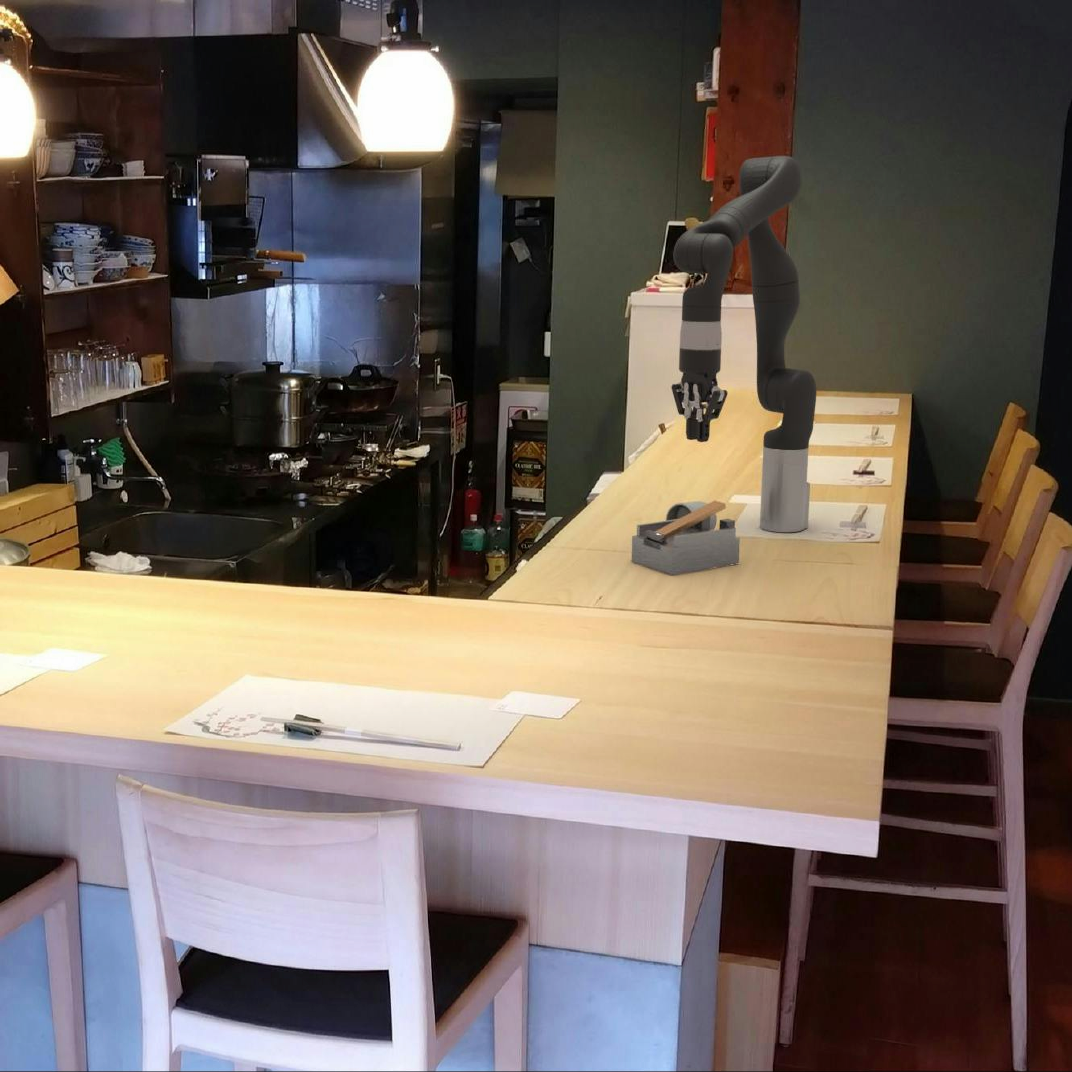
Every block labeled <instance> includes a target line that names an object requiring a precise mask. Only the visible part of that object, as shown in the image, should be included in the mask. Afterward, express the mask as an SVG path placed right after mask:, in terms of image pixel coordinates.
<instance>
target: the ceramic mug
mask: <svg viewBox="0 0 1072 1072" xmlns="http://www.w3.org/2000/svg"><path fill="white" fill-rule="evenodd" d="M707 504H709V503H707V502H704V501H699V500H698V501H688V502H677V503H675V504H673V505H672V506H671V507H669V509H668V511H667V513H666V516H665V521H667V520H674V519H680V518H682V517H684V516H686V515H688V514H690V513H692V512H693V511H695V510H697V509H699V508H701V507H703V506H705V505H707ZM717 520H718V519H717V513H716V514H714V515H712V516H710V529H711V530H715V528H716V526H717Z"/></svg>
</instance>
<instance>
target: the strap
mask: <svg viewBox="0 0 1072 1072" xmlns="http://www.w3.org/2000/svg"><path fill="white" fill-rule="evenodd" d="M726 509H727V506H726V503H725V502H721V501H717V500H712V501H711V502H709V503H708V504H707V505H705V506H703V507H701V508H699V509H697V510H695V511H693V512H692V513H690V514H688V515H686V516H684V517H682V518H680V519H678V520H676V521H674V522H672V523H670V524H668V525H667V526H665V527H663V528H661V529H659V530H657V531H655V532H654V531H651V530H647V531H646V532H645V537H646V538H647V539H650V540H654V541H657V542H660V543H664V542H665V541H666V539H668V538H670V537H672V536H674V535H676V534H678V533H680V532H682V531H683V530H685V529H687V528H689V527H691V526H693V525H695V524H697V523H699V522H701V521H702V520H704V519H706V518H708V517H710V516H712V515H714V514H716V515H717V514H718V513H719V512H721V511H723V510H726Z"/></svg>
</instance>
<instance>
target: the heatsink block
mask: <svg viewBox="0 0 1072 1072" xmlns="http://www.w3.org/2000/svg"><path fill="white" fill-rule="evenodd" d="M676 520H678V519H674V520H667V521H666V520H660V521H655V522H654V521H653V522H647V523H640V524H636V534H635V535H631V563H634V564H637V565H639V566H642V567H646V568H648V569H652V570H655V571H657V572H660V573H664V574H667V575H669V576H679V575H682V574H688V573H695V572H701V571H707V570H711V569H710V568H713V567H718V568H723V567H722V566H724V567H728V566H727V565H730V566H732V565H731V564H736V563H740V542H741V539H740V537H738V536H736V531H737V530H736V529H737V528H736V520H734V519H730V518H725V519H719V528H718V529H714V530H711V529H710V517H708V518H706V519H704V520H702V521H701V522H699V523H697V524H695V525H693V526H691V527H689V528H687V529H685V530H683V531H682V532H680V533H678V534H676V535H674V536H672V537H670V538H668V539H666V541H665V542H664V543H660V542H657V541H654V540H650V539H647V538H646V537H645V532H646V531H647V530H651V531H654V532H655V531H657V530H659V529H661V528H663V527H665V526H667V525H668V524H670V523H672V522H674V521H676ZM736 565H737V564H736ZM706 569H707V570H706ZM713 569H714V568H713Z"/></svg>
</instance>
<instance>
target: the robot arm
mask: <svg viewBox="0 0 1072 1072" xmlns="http://www.w3.org/2000/svg"><path fill="white" fill-rule="evenodd" d="M802 177H803V176H802V170H801V167H800V164H799V162H798V161H797V160H796V159H795V158H794V157H792V156H788V155H775V156H774V155H773V156H765V157H754V158H747V159H746V160H744V161H743V162H742V165H741V166H740V171H739V177H738V179H739V181H738V182H739V183H738V184H739V194H740V195H739V196H738V197H736V198H734V199H731V200H730V201H729V202H727V203H726V204H725V203H724V205H723V206H722V207H719V209H718V210H717V211H716V212H715V213H714V214H713V215H712V216H711V217H710V218H709V219H708V220H706V221H703V222H702V223H699V224H697V225H696V226H694V227H692V228H690V229H688V230H686V231H685V232H683V233H682V235H680V237H679V238H678V239H677V240H676V243H675V245H674V249H673V253H672V255H673V256H672V257H673V261H674V265H675V266H676V268H677V269H679V270H680V271H681V272H683V273H686V274H705V275H706V277H705V279H704V281H703V283H702V284H701V285H698V286H693V287H688V288H686V289H685V290H684V291H683V294H682V306H681V325H680V332H679V352H678V353H679V354H678V355H679V356H678V357H679V358H678V370H679V372H681V373H682V376H681V379H680V382H678V383H675V384H673V383H672V385H671V387H670V388H671V392H672V395H673V399H674V401H675V405H676V406H675V407H676V409H677V414H678V415H680V416H681V415H682V416H683V418H684V419H685V435H686V440H689V441H694V440H695V441H697V442H698V443H699V442H700V443H706V442H708V441H709V439H710V431H711V430H710V429H711V421H712V420H715V419H716V420H717V419H719V418H720V414H721V411H722V410H723V407H724V404H725V402H726V400H727V397H728V391H727V389H721V388H720V387H719V385H718V379H717V374H718V373H720V371H721V364H722V363H721V362H722V359H721V358H722V340H723V339H722V336H723V335H722V334H723V333H722V325H721V324H722V322H721V320H722V299H723V294H724V292H725V288H726V287H725V286H726V283H727V280H728V278H729V277H728V276H729V273H730V271H731V267H732V264H733V259H734V249H736V247H738V246H739V245H740V243H741V242H742V241H743V240H745V238H746V237H747V242H748V244H747V245H748V251H749V252H748V253H749V262H750V277H751V292H752V302H753V309H754V320H755V333H756V335H755V336H756V394H757V399H758V402H759V403H760V406H761V407H762V409H764V410H765V411H768V412H772V413H778V414H782V420H781V424H780V425H779V426H778V427H776V428H774V429H771V430H768V431H766V432H765V433H764V435H763V445H762V446H763V447H762V464H761V465H762V467H761V468H762V469H761V486H760V487H761V489H760V490H761V491H760V493H761V494H760V511H759V513H760V515H759V528H760V529H762V530H765V531H769V532H776V533H797V532H801V531H804V530H805V529H807V528H809V517H810V516H809V515H810V514H809V512H810V511H809V510H810V496H811V483H809V482H808V467H809V466H808V465H809V450H810V449H809V446H810V439H811V436H812V434H813V430H814V421H815V413H816V402H817V383H816V380H815V377H814V376H813V374H812V373H810V371H808V370H804V369H798V368H789V367H786V361H785V344H786V339H787V335H788V333H789V331H790V329H791V327H792V325H793V322H794V320H795V318H796V317H797V313H798V310H799V308H800V304H801V301H800V300H801V298H800V295H801V294H800V283H799V282H800V281H799V272H798V268H797V266H796V265H795V262H794V260H793V258H791V255H790V254H789V253H788V251H787V250H786V249H785V247H784V246H783V245H782V243H781V242H780V241H779V239H778V237H777V235H776V234H775V233H774V230H773V228H772V225H771V222H770V217H771V216H773V215H774V214H775V213H777V212H779V211H780V210H782V209H783V208H784V207H787V206H788V205H790V204H792V202H794V201H795V199H797V197H798V195H799V194H800V191H801V189H802V181H803V178H802ZM704 410H705V412H704Z"/></svg>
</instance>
